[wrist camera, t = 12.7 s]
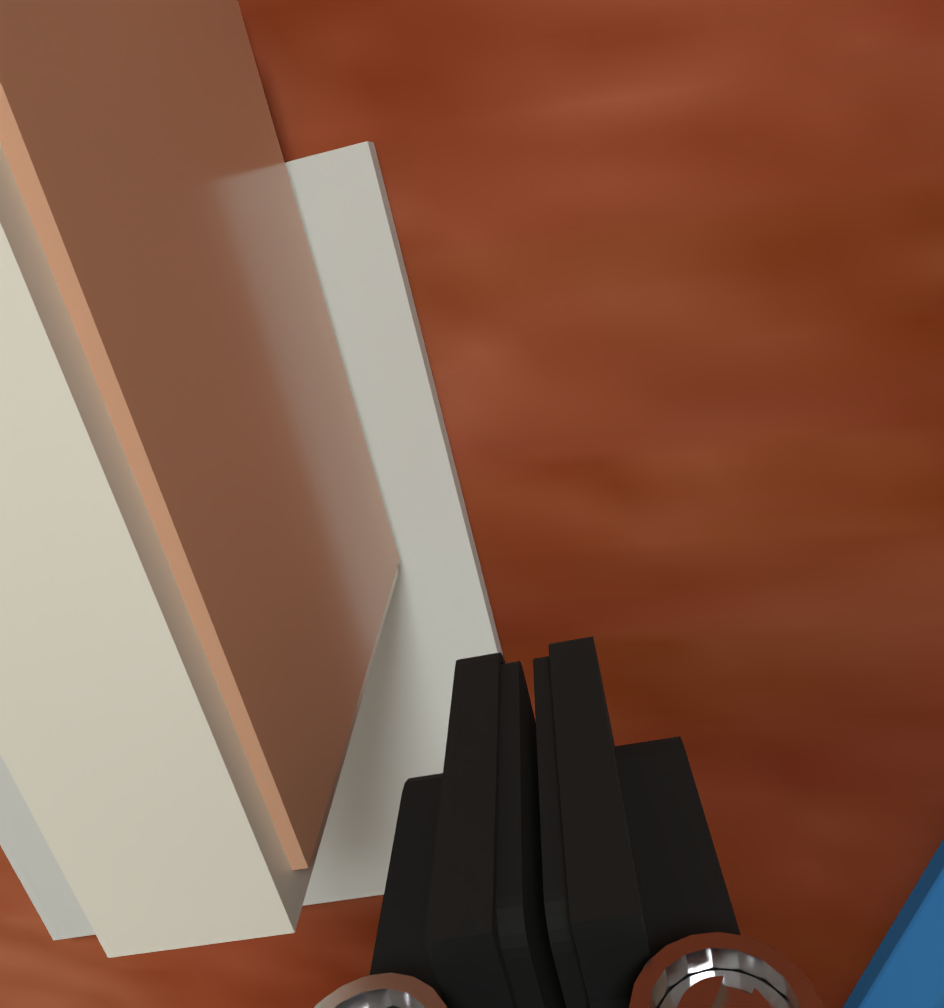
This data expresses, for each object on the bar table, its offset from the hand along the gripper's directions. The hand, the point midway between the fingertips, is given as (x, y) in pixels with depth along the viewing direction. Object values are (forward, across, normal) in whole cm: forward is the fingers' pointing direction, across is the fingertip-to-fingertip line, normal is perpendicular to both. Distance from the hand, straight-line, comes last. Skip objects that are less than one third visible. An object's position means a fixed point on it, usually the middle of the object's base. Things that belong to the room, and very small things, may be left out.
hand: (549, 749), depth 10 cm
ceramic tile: (+6, +4, -5) cm, 8 cm away
